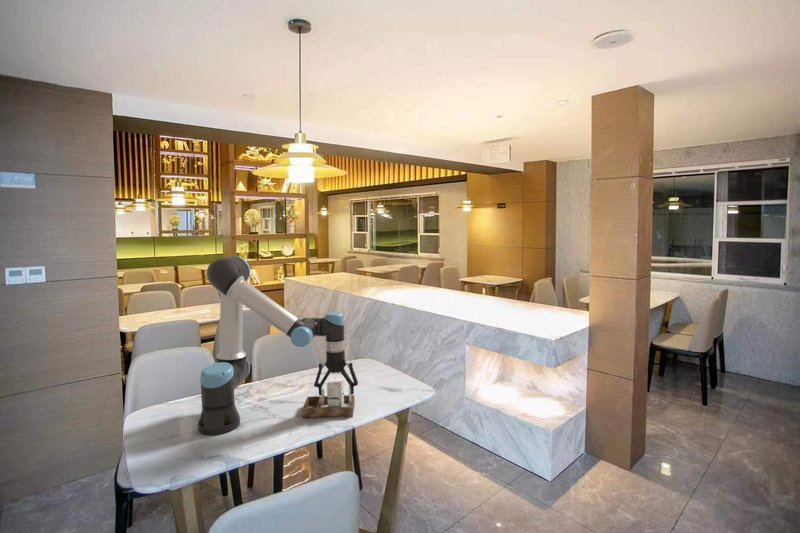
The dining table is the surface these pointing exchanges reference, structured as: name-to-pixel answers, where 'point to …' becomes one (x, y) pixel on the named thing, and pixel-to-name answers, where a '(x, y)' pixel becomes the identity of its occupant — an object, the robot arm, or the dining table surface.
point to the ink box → (335, 392)
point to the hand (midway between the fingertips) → (336, 402)
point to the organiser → (327, 408)
